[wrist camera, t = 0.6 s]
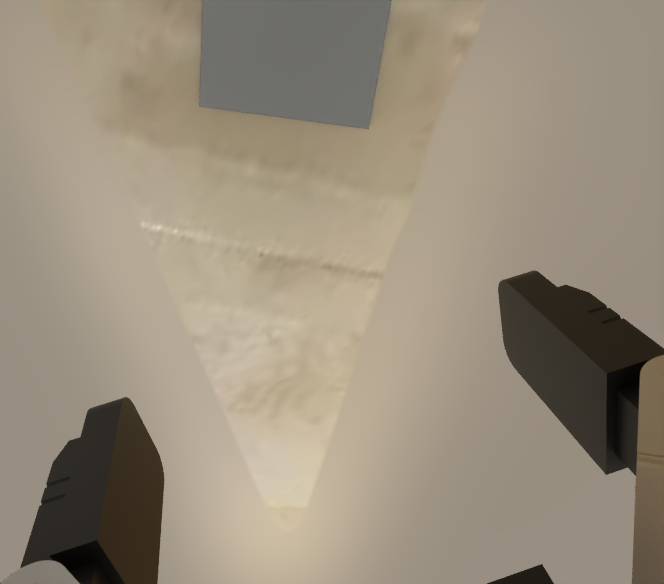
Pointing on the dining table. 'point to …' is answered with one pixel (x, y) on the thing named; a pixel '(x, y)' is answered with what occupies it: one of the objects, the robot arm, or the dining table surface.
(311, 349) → the dining table surface
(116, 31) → the dining table surface
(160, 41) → the dining table surface
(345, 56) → the slate mat
